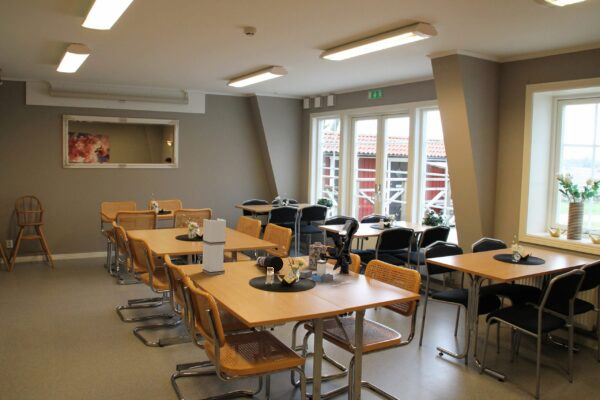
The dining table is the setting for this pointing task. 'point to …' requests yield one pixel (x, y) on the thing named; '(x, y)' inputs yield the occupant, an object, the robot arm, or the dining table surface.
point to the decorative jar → (315, 254)
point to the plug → (321, 267)
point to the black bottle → (271, 262)
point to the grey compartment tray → (314, 277)
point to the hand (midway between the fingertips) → (327, 268)
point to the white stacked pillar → (213, 246)
